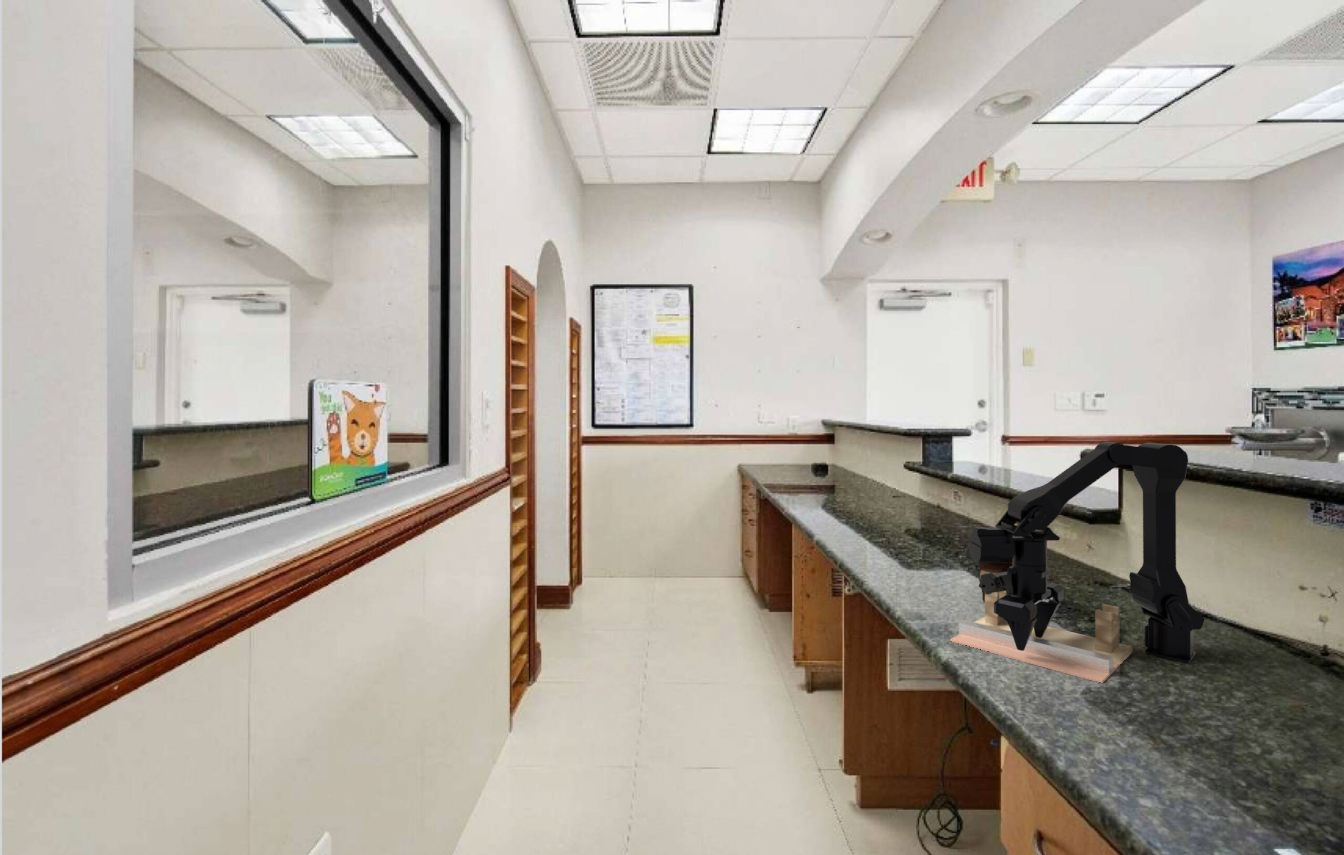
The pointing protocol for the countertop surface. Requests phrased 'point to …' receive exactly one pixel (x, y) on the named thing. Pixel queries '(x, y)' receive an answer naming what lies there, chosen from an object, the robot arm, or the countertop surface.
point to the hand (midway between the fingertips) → (1029, 643)
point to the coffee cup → (993, 570)
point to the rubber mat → (1035, 659)
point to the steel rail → (1039, 647)
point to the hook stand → (1101, 643)
